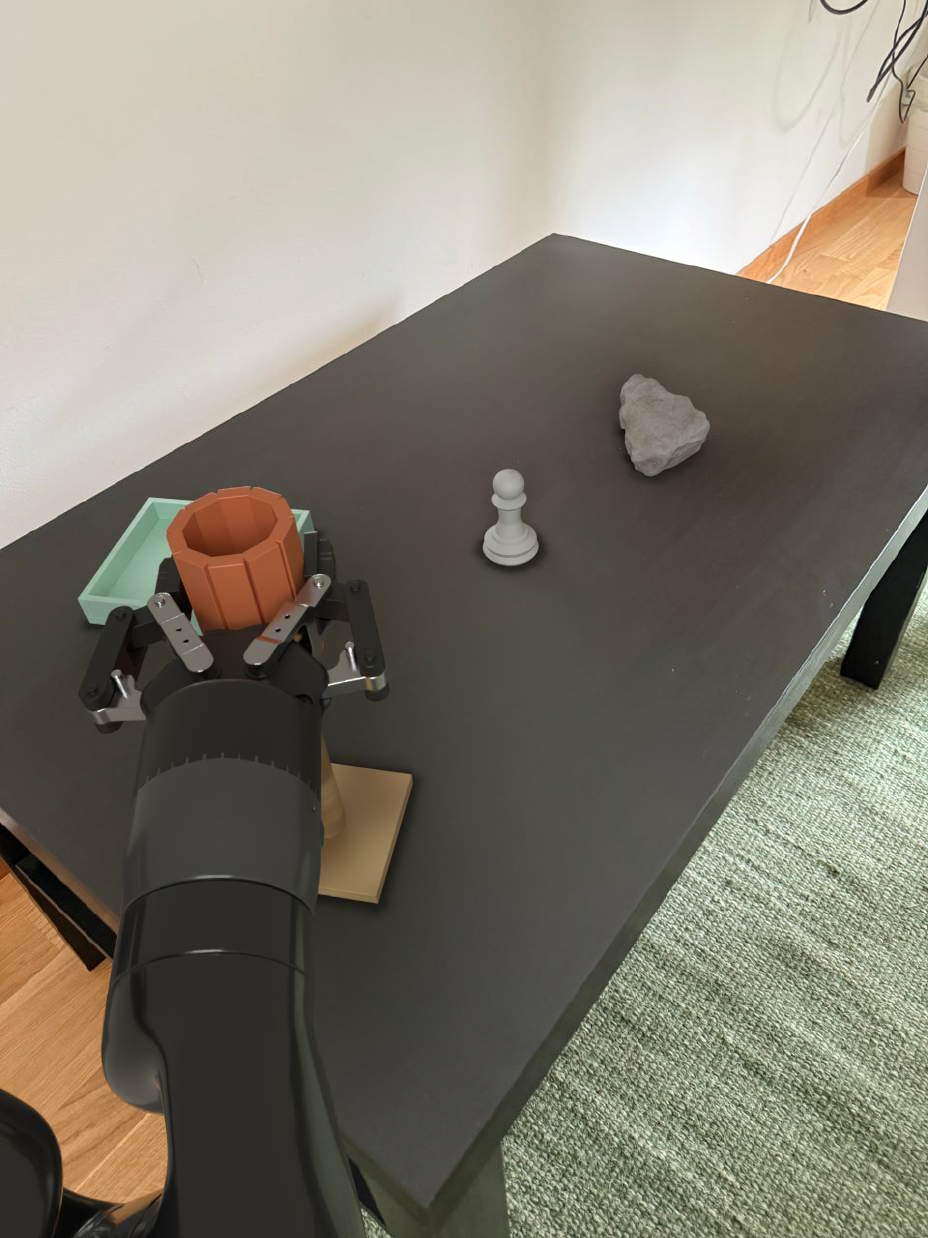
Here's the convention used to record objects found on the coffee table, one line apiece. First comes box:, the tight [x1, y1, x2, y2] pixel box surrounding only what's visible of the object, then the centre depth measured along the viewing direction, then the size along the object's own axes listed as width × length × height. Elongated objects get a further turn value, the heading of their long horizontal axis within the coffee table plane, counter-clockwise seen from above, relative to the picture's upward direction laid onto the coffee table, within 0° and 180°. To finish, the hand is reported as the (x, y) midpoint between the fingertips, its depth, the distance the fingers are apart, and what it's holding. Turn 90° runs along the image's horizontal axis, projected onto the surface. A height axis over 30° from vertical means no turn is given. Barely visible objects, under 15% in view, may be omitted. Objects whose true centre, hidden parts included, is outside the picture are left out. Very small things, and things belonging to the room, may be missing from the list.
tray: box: [77, 497, 315, 637], centre depth 78 cm, size 15×13×3 cm
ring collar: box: [166, 485, 326, 661], centre depth 48 cm, size 6×6×9 cm
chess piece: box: [482, 468, 540, 567], centre depth 76 cm, size 5×5×8 cm
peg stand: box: [318, 729, 414, 904], centre depth 56 cm, size 9×9×12 cm
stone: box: [618, 373, 711, 477], centre depth 86 cm, size 10×8×6 cm
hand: (249, 552), depth 49 cm, fingers closed on ring collar, 6 cm apart
